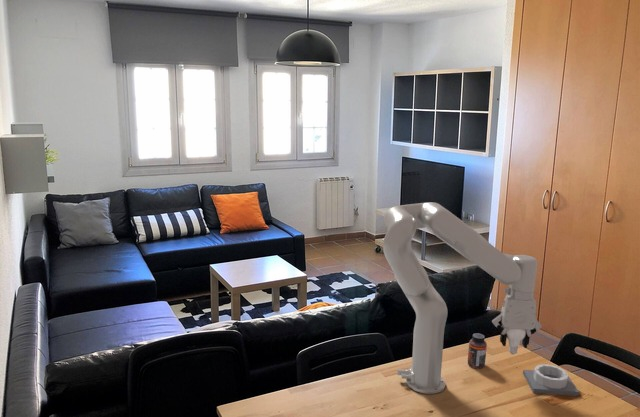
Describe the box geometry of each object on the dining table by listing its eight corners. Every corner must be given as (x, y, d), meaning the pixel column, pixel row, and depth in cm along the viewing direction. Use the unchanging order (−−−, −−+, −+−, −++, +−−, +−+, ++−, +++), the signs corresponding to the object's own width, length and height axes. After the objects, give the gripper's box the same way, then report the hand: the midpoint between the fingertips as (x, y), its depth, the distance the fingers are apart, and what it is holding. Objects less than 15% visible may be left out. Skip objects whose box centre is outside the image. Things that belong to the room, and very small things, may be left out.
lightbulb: (524, 359, 169) (528, 327, 166) (503, 356, 170) (507, 325, 167) (521, 350, 175) (525, 319, 172) (501, 348, 176) (505, 317, 174)
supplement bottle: (464, 362, 187) (466, 332, 185) (478, 359, 189) (480, 330, 186) (473, 370, 182) (476, 340, 179) (488, 368, 183) (491, 338, 181)
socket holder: (533, 392, 168) (534, 380, 167) (522, 373, 180) (524, 361, 179) (578, 395, 167) (580, 383, 166) (565, 376, 178) (566, 364, 177)
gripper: (495, 295, 165) (489, 348, 169) (552, 300, 163) (544, 353, 167) (490, 287, 172) (484, 337, 176) (544, 291, 171) (537, 342, 174)
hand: (513, 344), depth 172 cm, fingers closed on lightbulb, 6 cm apart
